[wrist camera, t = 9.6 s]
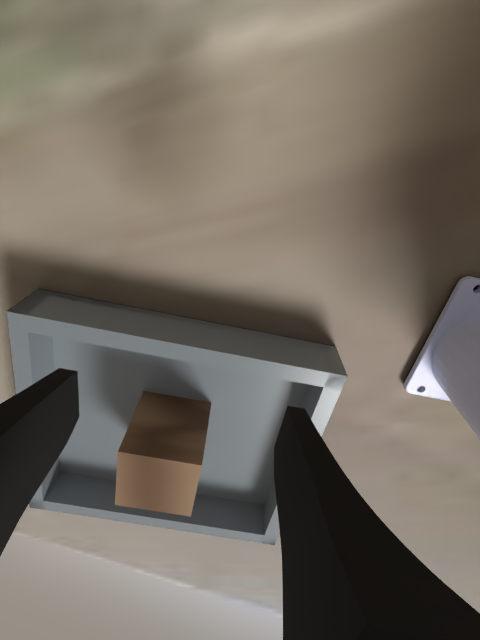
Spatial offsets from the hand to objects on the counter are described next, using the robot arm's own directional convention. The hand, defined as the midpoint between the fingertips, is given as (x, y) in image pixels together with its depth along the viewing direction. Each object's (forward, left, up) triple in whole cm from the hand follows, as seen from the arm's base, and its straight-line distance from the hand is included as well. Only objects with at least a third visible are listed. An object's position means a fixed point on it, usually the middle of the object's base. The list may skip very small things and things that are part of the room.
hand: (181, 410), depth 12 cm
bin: (+1, +10, -9) cm, 13 cm away
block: (+1, +9, -9) cm, 13 cm away
